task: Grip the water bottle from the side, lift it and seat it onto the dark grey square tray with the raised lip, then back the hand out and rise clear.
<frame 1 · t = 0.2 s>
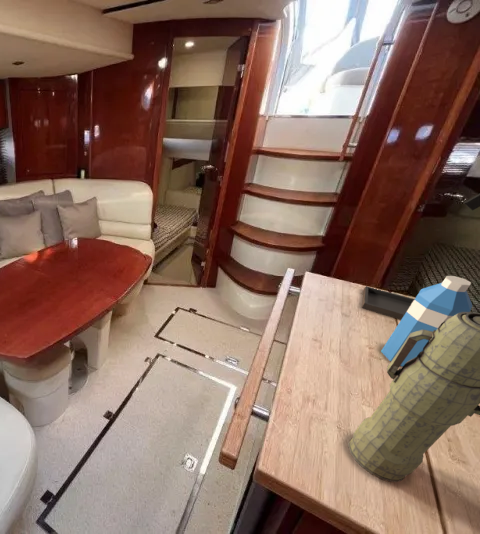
dark grey square tray: (387, 306, 102), on the table
water bottle: (402, 358, 83), on the table
thermos: (374, 458, 61), on the table
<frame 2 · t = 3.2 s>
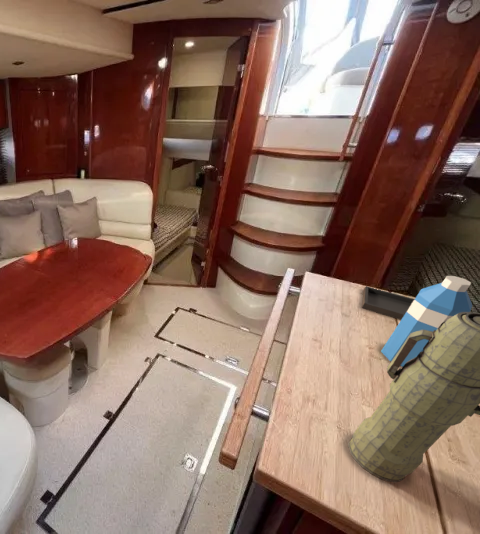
nothing on the table moved.
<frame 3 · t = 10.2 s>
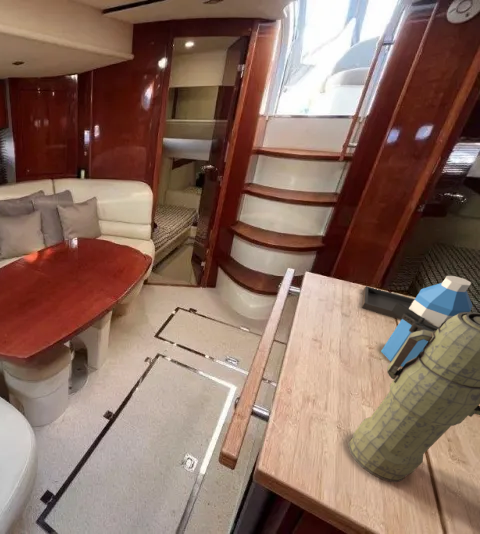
hand: (414, 306, 80), 14 cm above the table, tool horizontal, fingers closed on water bottle, 9 cm apart
water bottle: (402, 358, 83), on the table, touching gripper
everything else where it was.
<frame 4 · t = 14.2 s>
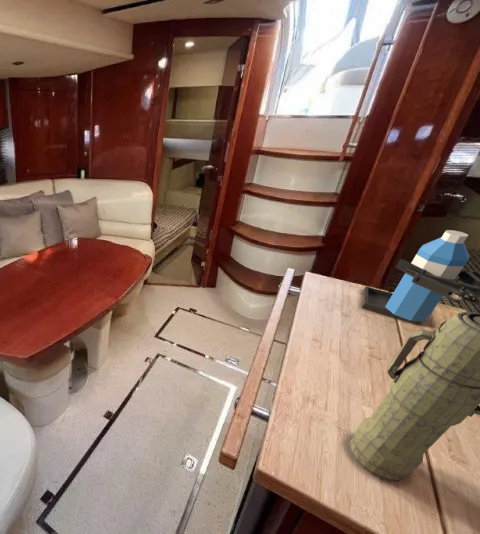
hand: (415, 262, 86), 21 cm above the table, tool horizontal, fingers closed on water bottle, 9 cm apart
water bottle: (405, 312, 89), point 7 cm above the table, touching gripper
everything else where it was.
when the fingers open (15 cm above the table, at t = 18.4 s): water bottle stays where it is, resting on dark grey square tray.
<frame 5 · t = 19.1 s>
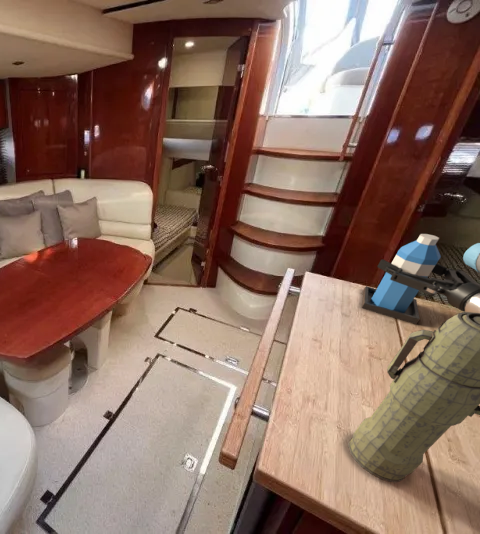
hand: (400, 262, 97), 15 cm above the table, tool horizontal, fingers open, 13 cm apart
water bottle: (387, 305, 102), resting on dark grey square tray
everything else where it was.
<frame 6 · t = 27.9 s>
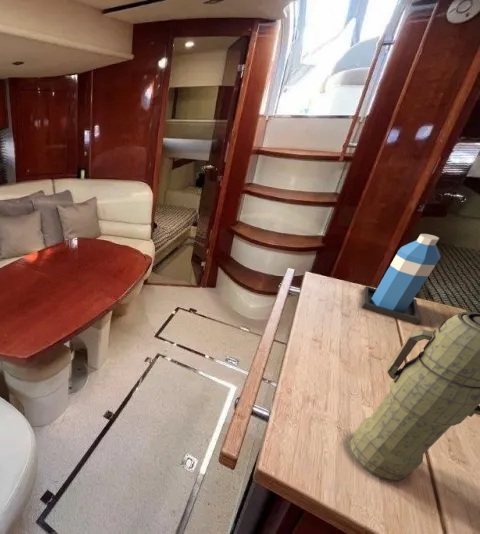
nothing on the table moved.
at the end: water bottle inside the target area in the dark grey square tray (0.0 cm from its centre), point 0.4 cm above the dark grey square tray's base; water bottle tilted 0°; the gripper is holding nothing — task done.
